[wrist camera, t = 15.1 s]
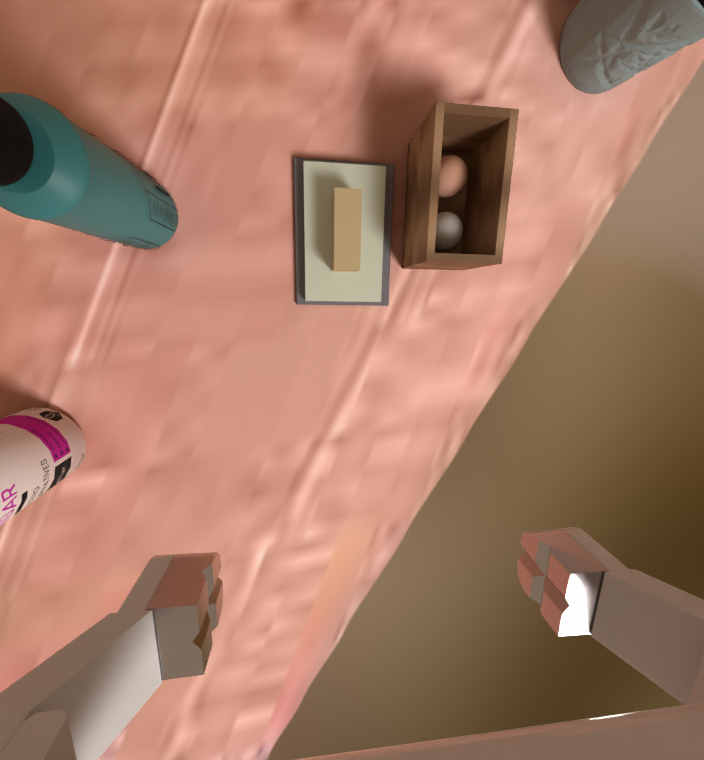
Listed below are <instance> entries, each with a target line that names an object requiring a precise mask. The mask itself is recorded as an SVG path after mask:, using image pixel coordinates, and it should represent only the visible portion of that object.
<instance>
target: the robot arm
mask: <svg viewBox="0 0 704 760" xmlns="http://www.w3.org/2000/svg"><path fill="white" fill-rule="evenodd" d="M520 545H521V546H522V548H523V549H524V552H523V554H522V555H521V556H520V557H519V559H518V566H517V571H518V576H519V580H520V583H521V585H522V587H523V589H524V590H525V592H526V593H527V595H528V596H529V597H530V598H531V599H533V600H535V601H536V602H538V603H539V604H540V612H541V614H542V615H543V617H544V618H545V619H546V620H547V622H548V623H549V625H550V626H551V627H552V629H553V630H554V631H555V632H556V634H557V635H558V636H568V635H569V636H570V635H584V634H591V636H592V637H593V638H594V639H596V640H597V641H599V642H600V643H601V644H602V645H604V646H605V647H606V648H608V649H609V650H610V651H612V652H613V653H615V654H616V655H617V656H619V657H620V658H622V659H623V660H624V661H626V662H627V663H628V664H630V665H631V666H632V667H634V668H635V669H636V670H638V671H639V672H640V673H642V674H643V675H645V676H646V677H647V678H649V679H650V680H651V681H653V682H654V683H655V684H657V685H658V686H659V687H661V688H662V689H663V690H665V691H666V692H667V693H669V694H670V695H672V696H673V697H674V698H676V699H677V700H678V701H680V702H681V703H682V704H684V705H682V706H674V707H667V708H660V709H654V710H647V711H639V712H632V713H625V714H618V715H610V716H604V717H596V718H589V719H582V720H576V721H568V722H561V723H554V724H547V725H540V726H534V727H526V728H519V729H513V730H505V731H498V732H490V733H484V734H476V735H469V736H462V737H454V738H447V739H440V740H433V741H426V742H418V743H411V744H404V745H397V746H389V747H383V748H375V749H368V750H361V751H353V752H346V753H340V754H332V755H325V756H318V757H311V758H304V759H297V760H704V600H702V599H700V598H698V597H695V596H693V595H691V594H689V593H687V592H684V591H682V590H680V589H677V588H675V587H673V586H671V585H668V584H666V583H664V582H662V581H660V580H657V579H655V578H653V577H651V576H649V575H646V574H644V573H642V572H639V571H637V570H635V569H632V570H629V569H628V568H627V567H625V566H624V565H623V564H622V563H621V562H619V561H618V560H617V559H616V558H615V557H614V556H612V555H611V554H610V553H609V552H608V551H607V550H605V549H604V548H603V547H602V546H600V545H599V544H598V543H597V542H596V541H594V539H592V538H591V537H590V536H589V535H587V534H586V533H585V532H584V531H583V530H581V529H579V528H576V527H574V528H563V529H558V530H545V531H531V532H525V533H524V534H523V536H522V538H521V544H520ZM220 568H221V560H220V554H219V553H218V552H214V553H191V554H177V555H155V556H154V557H153V558H151V559H150V560H149V562H148V564H147V565H146V567H145V568H144V570H143V572H142V573H141V575H140V577H139V578H138V580H137V581H136V583H135V585H134V586H133V588H132V590H131V591H130V593H129V595H128V596H127V598H126V599H125V601H124V603H123V604H122V606H121V608H120V609H119V611H118V612H117V613H111V614H109V615H107V616H106V617H105V618H103V619H102V620H101V621H99V622H98V623H96V624H95V625H94V626H92V627H91V628H90V629H88V630H87V631H85V632H84V633H83V634H81V635H80V636H78V637H77V638H76V639H74V640H73V641H72V642H70V643H69V644H67V645H66V646H65V647H63V648H62V649H61V650H59V651H58V652H56V653H55V654H54V655H52V656H51V657H50V658H48V659H47V660H45V661H44V662H43V663H41V664H40V665H38V666H37V667H36V668H34V669H33V670H32V671H30V672H29V673H27V674H26V675H25V676H23V677H22V678H21V679H19V680H18V681H16V682H15V683H14V684H12V685H11V686H9V687H8V688H7V689H5V690H4V691H3V692H1V693H0V760H98V758H99V757H100V756H101V755H102V754H103V753H104V751H105V750H106V749H107V748H108V747H109V745H110V744H111V743H112V742H113V741H114V739H115V738H116V737H117V736H118V735H119V733H120V732H121V731H122V730H123V729H124V728H125V726H126V725H127V724H128V723H129V722H130V720H131V719H132V718H133V717H134V716H135V714H136V713H137V712H138V711H139V710H140V709H141V707H142V706H143V705H144V704H145V703H146V701H147V700H148V699H149V698H150V697H151V695H152V694H153V693H154V692H155V691H156V690H157V688H158V687H159V686H160V685H161V684H162V680H167V679H174V678H182V677H189V676H196V675H203V674H204V672H205V669H206V665H207V662H208V658H209V655H210V651H211V648H212V631H213V630H214V629H215V628H216V627H217V626H218V622H219V619H220V615H221V609H222V602H223V583H222V581H221V580H220V578H219V577H218V575H219V571H220Z"/></svg>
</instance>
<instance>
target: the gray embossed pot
mask: <svg viewBox="0 0 704 760" xmlns="http://www.w3.org/2000/svg"><path fill="white" fill-rule="evenodd" d="M702 38H704V0H581V1H580V2H579V3H578V4H577V5H576V7H575V8H574V9H573V11H572V12H571V14H570V15H569V17H568V19H567V21H566V23H565V26H564V28H563V31H562V35H561V40H560V60H561V65H562V68H563V71H564V73H565V75H566V77H567V79H568V80H569V82H570V83H571V84H572V85H573V86H574V87H575V88H577V89H578V90H580V91H582V92H585V93H589V94H599V93H602V92H606V91H608V90H610V89H612V88H614V87H616V86H618V85H620V84H621V83H623V82H625V81H627V80H629V79H630V78H632V77H633V76H634V75H635V74H636V73H639V72H641V71H644V70H646V69H647V68H649V67H651V66H653V65H655V64H656V63H658V62H660V61H662V60H664V59H665V58H667V57H669V56H671V55H673V54H675V53H676V52H677V51H678V50H680V49H682V48H683V47H685V46H686V45H691V44H693V43H695V42H697V41H698V40H700V39H702Z"/></svg>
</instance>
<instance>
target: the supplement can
mask: <svg viewBox="0 0 704 760" xmlns="http://www.w3.org/2000/svg"><path fill="white" fill-rule="evenodd" d="M85 453H86V442H85V439H84V436H83V433H82V431H81V430H80V429H79V427H78V426H77V425H76V424H75V422H74V421H73V420H71V419H70V418H68V417H67V416H65V415H64V414H62V413H61V412H57V411H54V410H51V409H48V408H28V409H25V410H22V411H19V412H16V413H13V414H11V415H8V416H6V417H3V418H1V419H0V526H1V525H2V524H3V523H5V522H6V521H7V520H9V519H10V518H11V517H13V516H14V515H15V514H17V513H18V512H19V511H21V510H22V509H24V508H25V507H26V506H28V505H29V504H30V503H32V502H33V501H34V500H36V499H37V498H38V497H40V496H41V495H42V494H44V493H45V492H46V491H48V490H49V489H50V488H52V487H53V486H55V485H56V484H57V483H59V482H60V481H61V480H63V479H64V478H65V477H67V476H68V475H69V474H71V473H72V472H73V471H75V470H76V469H77V468H78V467H80V465H81V463H82V461H83V459H84V458H85Z"/></svg>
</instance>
